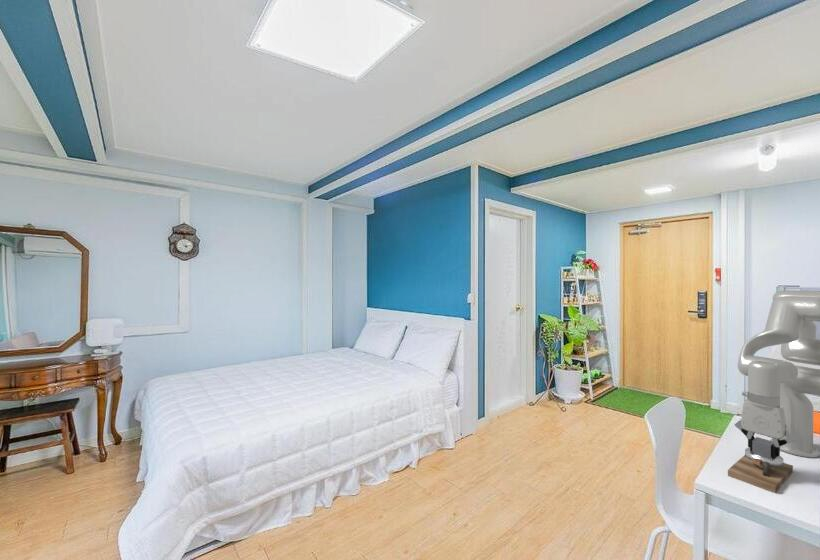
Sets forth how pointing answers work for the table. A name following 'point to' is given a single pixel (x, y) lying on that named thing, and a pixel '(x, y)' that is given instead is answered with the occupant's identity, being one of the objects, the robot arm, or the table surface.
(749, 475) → the base board
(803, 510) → the table surface
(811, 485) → the table surface
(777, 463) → the flange plate
